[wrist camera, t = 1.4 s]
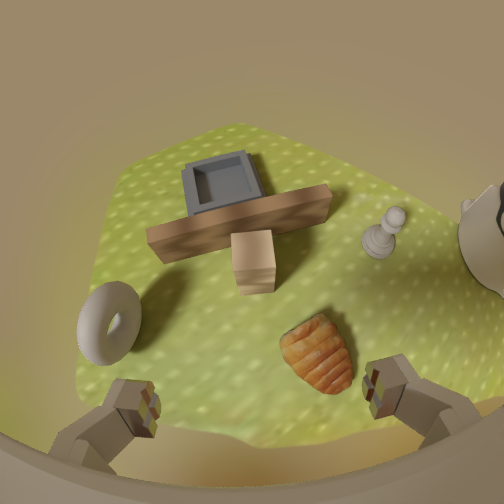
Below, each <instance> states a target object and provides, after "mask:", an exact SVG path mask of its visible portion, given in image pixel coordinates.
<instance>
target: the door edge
mask: <svg viewBox="0 0 504 504" xmlns="http://www.w3.org/2000/svg"><path fill="white" fill-rule="evenodd" d="M332 198H333V195H332V193H331V191H330V189H329V187H328V186H327V184H322V185H317V186H313V187H308V188H303V189H299V190H294V191H290V192H285V193H281V194H276V195H272V196H268V197H264V198H259V199H255V200H251V201H247V202H243V203H239V204H235V205H231V206H227V207H223V208H219V209H215V210H212V211H208V212H204V213H200V214H197V215H193V216H189V217H186V218H182V219H179V220H175V221H171V222H168V223H165V224H161V225H158V226H154V227H151V228H147V229H146V232H147V244H148V245H149V246H150V247H151V249H152V250H153V251H154V252H155V254H156V255H157V256H158V257H159V259H160V260H161V261H162V262H163V264H168V263H171V262H175V261H179V260H183V259H186V258H190V257H194V256H198V255H201V254H205V253H209V252H213V251H217V250H220V249H224V248H228V247H232V246H231V234H232V233H242V232H252V231H262V230H271V233H272V236H274V235H278V234H282V233H286V232H290V231H294V230H298V229H302V228H306V227H310V226H314V225H318V224H322V223H325V220H326V217H327V214H328V211H329V208H330V205H331V201H332Z"/></svg>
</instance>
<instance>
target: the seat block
mask: <svg viewBox="0 0 504 504" xmlns="http://www.w3.org/2000/svg"><path fill="white" fill-rule="evenodd" d="M185 167H186V169H184V170H181V173H182V179H183V186H184V192H185V199H186V205H187V211H188V217H189V216H193V215H197V214H200V213H204V212H208V211H212V210H215V209H219V208H223V207H227V206H231V205H235V204H239V203H243V202H247V201H251V200H255V199H259V198H264V197H267V196H266V193H265V190H264V188H263V185H262V182H261V180H260V177H259V174H258V172H257V169H256V167H255V164H254V161H253V159H252V156H251V154H250V153H249V154H246V152H245V150H241V151H236V152H232V153H228V154H224V155H219V156H215V157H211V158H207V159H204V160H200V161H196V162H192V163H189V164H185Z"/></svg>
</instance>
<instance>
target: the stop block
mask: <svg viewBox="0 0 504 504" xmlns="http://www.w3.org/2000/svg"><path fill="white" fill-rule="evenodd" d="M231 246H232V263H233V273H234V276H235V279H236V283H237V286H238V289H239V292H240V295H241V296H242V295H253V294H263V293H272V292H274V286H275V273H276V263H275V256H274V248H273V241H272V233H271V230H262V231H252V232H242V233H232V234H231Z"/></svg>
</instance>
